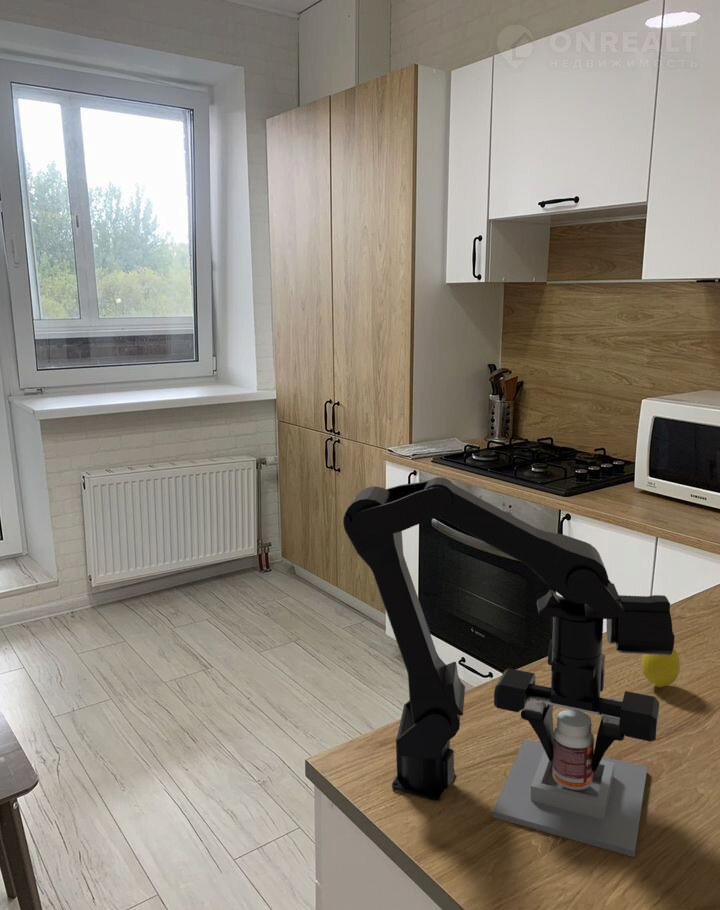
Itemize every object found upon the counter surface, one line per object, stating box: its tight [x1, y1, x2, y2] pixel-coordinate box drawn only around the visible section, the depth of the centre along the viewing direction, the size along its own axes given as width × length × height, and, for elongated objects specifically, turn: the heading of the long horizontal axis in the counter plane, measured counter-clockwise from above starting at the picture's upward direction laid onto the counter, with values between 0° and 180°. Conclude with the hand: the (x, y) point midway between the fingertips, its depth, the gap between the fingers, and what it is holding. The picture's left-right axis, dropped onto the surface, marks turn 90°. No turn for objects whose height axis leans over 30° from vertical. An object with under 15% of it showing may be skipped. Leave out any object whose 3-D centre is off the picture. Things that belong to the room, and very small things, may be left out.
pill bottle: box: [553, 709, 595, 790], centre depth 89 cm, size 5×5×8 cm
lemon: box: [641, 647, 681, 689], centre depth 113 cm, size 6×6×8 cm
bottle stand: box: [492, 738, 648, 858], centre depth 90 cm, size 16×16×3 cm
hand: (572, 764), depth 89 cm, fingers closed on pill bottle, 5 cm apart
